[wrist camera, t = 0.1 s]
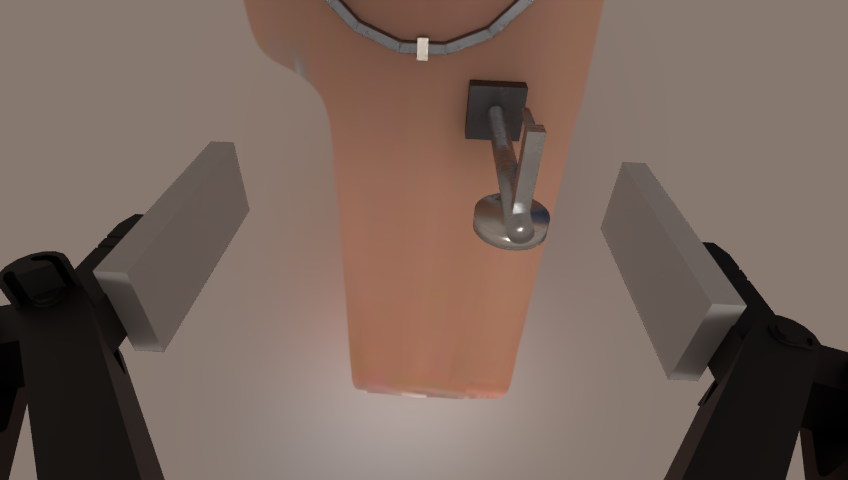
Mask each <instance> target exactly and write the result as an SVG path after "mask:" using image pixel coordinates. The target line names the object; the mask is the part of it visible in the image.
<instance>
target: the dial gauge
mask: <svg viewBox="0 0 848 480" xmlns="http://www.w3.org/2000/svg"><path fill="white" fill-rule="evenodd" d="M527 92H528V87H527V84H526V82H505V81H485V80H470V85H469V95H468V105H467V116H466V126H465V139H483V140H491V143H492V149H493V155H494V161H495V166H496V172H497V178H498V184H499V189H500V193H497V194H492V195H488V196H486V197H484V198H482V199H481V200H479V201H478V202H477V204H476V206H475V210H474V218H473V229H474V231H475V233H476V234H477V235H478V236H479V237H480V238H481V239H482V240H483V241H485V242H486V243H488V244H490V245H492V246H495V247H498V248H502V249H506V250H527V249H531V248H534V247H536V246H538V245H540V244H541V243H542V242H543V241H544V240H545V238H546V235H547V231H548V227H549V222H550V215H549V212H548V211H547V209H546V208H545V207H544V206H543V205H542V204H540V203H539V202H537V201H536V200H534V199H532V198H533V194H534V189H535V184H536V179H537V175H538V170H539V165H540V160H541V156H542V151H543V146H544V141H545V137H546V131H545V128H544V126H543V125H535V122H534V119H533V117H532V114H531V111H530V109H529V108H527V107H525V103H526V97H527ZM522 120H523V123H524V126H525V127H524V133H523V138H522V144H521V150H520V155H519V161H518V164H517V160H516V156H515V152H514V148H513V144H512V141H519V138H520V132H521V126H522Z"/></svg>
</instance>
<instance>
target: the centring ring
mask: <svg viewBox="0 0 848 480" xmlns="http://www.w3.org/2000/svg"><path fill="white" fill-rule="evenodd" d="M325 1H326V2H327V3H328V4H329V5H330V6H331V7H332V9H333V10H334V11H335V12H336V13H337V14H338V15H339V16H340V17H341V18H342V19H343V20H344V21H345V22H346V23H347V24H348V25H349V27H350V28H351V29H352V30H353V31H355V32H357V33H359V34H361V35H363V36H365V37H367V38H369V39H371V40H373V41H376V42H378V43H380V44H382V45H384V46H386V47H388V48H390V49H392V50H394V51H396V52H399V53H416V54H417V60H425V61H428V54H437V55H446V54H447V55H448V54H450V53H453V52H456V51H458V50H461V49H464V48H466V47H469V46H472V45H474V44H477V43H480V42H483V41H485V40H488V39H491V38H492V37H494V36H495V35H496V34H497V33H499V32H500V31H501V30H502V29H503V28H504V27H505V26H506V25H507V24H509V23H510V22H511V21H512V20H513V19H514V18H515V17H516V16H517V15H519V14H520V13H521V12H522V11H523V10H524V9H525V8H526V7H528V6H529V5H530V4H531V3H532V2H533V1H534V0H533V1H532V0H515V1H514V2H513V3H512V4H511V5H510V6H509V7H508V8H507V9H506V10H504V11H503V12H502V13H501V14H500V15H499V16H498V17H497V18H496V19H495V20H494V21H492V22H491V23H490V24H489V25H488V26H486V27H484V28H481V29H478V30H476V31H473V32H471V33H468V34H465V35H463V36H460V37H457V38H455V39H452V40H449V41H447V42H432V41H428V38H423V37H418V41H411V40H400V39H398V38H396V37H394V36H392V35H390V34H388V33H386V32H384V31H382V30H380V29H378V28H376V27H374V26H372V25H370V24H368V23H366V22H363V21H361V20H360V19H359V18H358V17H357V16H356V15H355V14H354V13H353V11H352V10H351V9H350V8H349V7H348V6H347V5H346V4H345V3H344V2H343V1H342V0H325Z"/></svg>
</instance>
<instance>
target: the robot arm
mask: <svg viewBox="0 0 848 480" xmlns="http://www.w3.org/2000/svg"><path fill="white" fill-rule="evenodd" d="M248 212H249V206H248V202H247V197H246V193H245V189H244V185H243V180H242V176H241V172H240V167H239V163H238V159H237V155H236V150H235V146H234V143H232V142H231V143H230V142H210V143H209V144H208V146H207V147H206V148H205V149H204V150H203V151H202V152H201V153H200V154H199V155H198V156H197V158H196V159H195V160H194V161H193V162H192V163H191V164H190V165H189V166H188V168H187V169H186V170H185V171H184V172H183V173H182V174H181V175H180V176H179V177H178V178H177V179H176V181H175V182H174V183H173V184H172V185H171V186H170V187H169V188H168V189H167V191H166V192H165V193H164V194H163V195H162V196H161V197H160V198H159V199H158V200H157V201H156V202H155V204H154V205H153V206H152V207H151V208H150V209H149V210H148V211H147V212H146V214H144V215H143V214H135V215H133V216H131V217H130V218H128V219H126V220H124V221H123V222H121V223H119V224H118V225H117V226H116V227H115V228H114V229H113V231H111V232H110V233H109V234H108V235H107V238H105V239H104V240H103V241H102V242H101V243H100V244H99V245H98V248H95V249H94V250H93V251H92V252H91V253H90V254H89V255H88V256H87V257H86V258H85V259H84V260H83V261H82V262H81V263H80V265H79V266H77V268H76V269H75V270H74V268H73V267H72V265H71V264H70V261H69V260H68V258H67V257H66V256H65V255H64V254H63V253H59V252H56V251H51V252H50V251H49V252H48V251H47V252H39V253H35V254H30V255H28V256H25V257H23V258H20V259H17V260H16V261H14V262H13V263H11V264H9V265H7V266H6V267H5V268H4V269H3V270H2V271H1V272H0V289H1V290H2V291H3V293H4V294H5V296H6V297H7V298H8V300H9V301H10V303H11V304H10V305H4V306H0V480H9V476H10V471H11V467H12V463H13V459H14V455H15V451H16V446H17V443H18V438H19V434H20V430H21V426H22V422H23V418H24V414H25V410H26V406H27V404H28V411H29V419H30V426H31V433H32V441H33V449H34V456H35V464H36V472H37V479H38V480H165V479H164V476H163V473H162V471H161V468H160V464H159V462H158V459H157V456H156V453H155V450H154V447H153V444H152V441H151V438H150V435H149V432H148V429H147V426H146V423H145V420H144V417H143V414H142V411H141V408H140V405H139V402H138V400H137V396H136V394H135V391H134V388H133V385H132V382H131V379H130V376H129V373H128V370H127V367H126V364H125V361H124V358H123V355H122V353H121V352H120V350H119V348H118V347H119V346H120V344H121V343H122V342H123V340H124V339H125V337H126V336H127V337H128V339H129V341H130V342H131V344H132V346H133V348H134V349H135V350H136V351H153V352H164V351H165V350H166V348H167V346H168V345H169V343H170V341H171V340H172V338H173V336H174V335H175V333H176V331H177V330H178V328H179V326H180V325H181V323H182V321H183V320H184V318H185V316H186V315H187V313H188V311H189V310H190V308H191V306H192V305H193V303H194V301H195V300H196V298H197V296H198V295H199V293H200V292H201V290H202V288H203V287H204V285H205V283H206V281H207V280H208V278H209V277H210V275H211V273H212V272H213V270H214V268H215V267H216V265H217V263H218V262H219V260H220V258H221V256H222V255H223V253H224V252H225V250H226V248H227V247H228V245H229V243H230V241H231V240H232V238H233V237H234V235H235V234H236V232H237V230H238V228H239V227H240V225H241V223H242V222H243V220H244V219H245V217H246V215H247V214H248ZM601 230H602V232H603V235H604V237H605V239H606V242H607V244H608V246H609V248H610V250H611V253H612V255H613V257H614V259H615V262H616V264H617V266H618V268H619V270H620V273H621V275H622V277H623V280H624V282H625V284H626V286H627V289H628V291H629V293H630V295H631V297H632V300H633V302H634V304H635V306H636V309H637V311H638V313H639V315H640V317H641V320H642V322H643V324H644V326H645V329H646V331H647V333H648V335H649V338H650V340H651V342H652V344H653V347H654V349H655V351H656V353H657V356H658V358H659V360H660V362H661V365H662V367H663V369H664V371H665V373H666V376H667V378H668V379H670V380H689V381H698V380H699V378H700V377H701V375H702V374H703V372H704V371H705V369H706V368H707V366H708V367H709V369H710V371H711V373H712V375H713V376H714V378H715V380H714V381H713V383H712V384H711V386H710V387H709V389H708V390H707V392H706V393H705V394H704V396H703V397H702V399H701V400H700V402H699V403H698V405H699V406H700V408H699V409H698V411H697V413H696V415H695V418H694V420H693V422H692V424H691V426H690V428H689V430H688V432H687V434H686V436H685V438H684V440H683V442H682V444H681V446H680V448H679V450H678V452H677V454H676V456H675V458H674V460H673V462H672V464H671V466H670V468H669V470H668V472H667V474H666V476H665V478H664V480H786V476H787V472H788V469H789V465H790V462H791V458H792V454H793V451H794V447H795V444H796V440H797V437H798V433H799V430H800V437H801V446H802V456H803V464H804V473H805V480H848V352H845V351H841V350H838V349H834V348H831V347H827V346H823V345H821V344H820V342H819V341H818V339H817V338H816V336H815V335H814V334H813V333H812V332H810V331H809V330H808V329H807V328H805V327H804V326H802V325H801V324H799V323H797V322H795V321H794V320H791V319H788V318H785V317H782V316H779V315H775V314H774V312H773V311H772V310H771V309H770V307H769V306H768V304H767V303H766V302H765V301H764V299H763V298H762V297H761V295H760V294H759V293H758V291H757V290H756V289H755V287H754V286H753V285H752V284H751V282H750V281H748V280H747V277H746V276H745V274H744V273H743V272H742V270H739V266H738V265H737V264H736V263H735V261H734V260H733V259H732V257H731V256H730V255H729V254H728V253H727V252H725V251H724V250H723V249H721V248H720V247H718V246H717V245H716V244H714V243H708V242H707V243H706V242H701V241H700V239H699V238H698V236H697V235H696V234H695V232H694V231H693V230H692V228H691V227H690V225H689V224H688V222H687V221H686V220H685V218H684V217H683V215H682V214H681V212H680V211H679V210H678V208H677V207H676V206H675V204H674V203H673V201H672V200H671V198H670V197H669V196H668V194H667V193H666V191H665V190H664V189H663V187H662V186H661V184H660V183H659V182H658V180H657V179H656V177H655V176H654V175H653V173H652V172H651V170H650V169H649V168H648V166H647V165H646V164H645V163H631V162H630V163H629V162H623V163H622V166H621V168H620V171H619V174H618V178H617V180H616V183H615V186H614V190H613V193H612V195H611V199H610V201H609V205H608V208H607V211H606V214H605V217H604V220H603V223H602V226H601Z"/></svg>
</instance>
